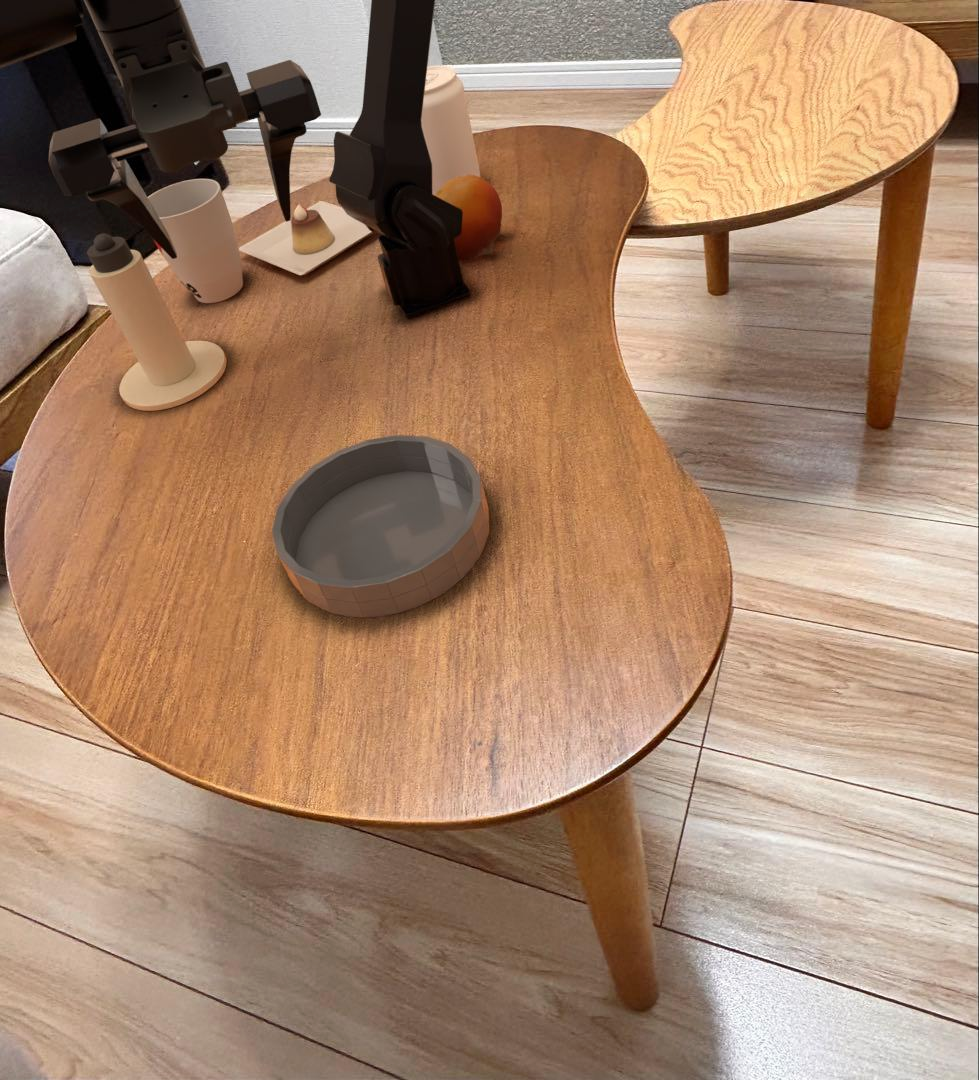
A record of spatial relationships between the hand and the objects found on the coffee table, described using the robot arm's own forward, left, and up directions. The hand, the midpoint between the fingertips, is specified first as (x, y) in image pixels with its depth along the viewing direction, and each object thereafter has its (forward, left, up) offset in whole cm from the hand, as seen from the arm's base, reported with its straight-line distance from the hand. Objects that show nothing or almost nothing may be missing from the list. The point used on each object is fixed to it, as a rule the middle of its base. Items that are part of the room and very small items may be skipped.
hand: (231, 237), depth 68 cm
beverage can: (-23, -25, -13) cm, 36 cm away
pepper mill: (+10, -6, -12) cm, 17 cm away
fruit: (-21, -11, -13) cm, 27 cm away
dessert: (-7, -23, -13) cm, 28 cm away
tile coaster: (+10, -6, -13) cm, 17 cm away
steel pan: (-3, +25, -13) cm, 28 cm away
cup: (+4, -20, -13) cm, 24 cm away
